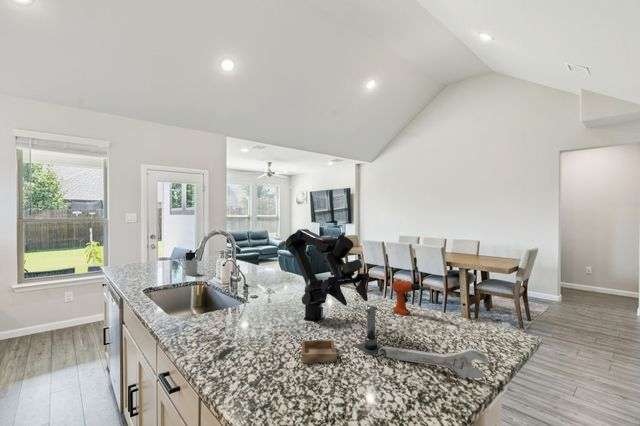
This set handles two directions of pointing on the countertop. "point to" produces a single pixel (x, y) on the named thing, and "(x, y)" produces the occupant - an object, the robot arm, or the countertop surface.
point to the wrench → (442, 359)
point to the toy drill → (404, 295)
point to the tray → (318, 351)
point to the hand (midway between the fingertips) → (356, 302)
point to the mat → (370, 352)
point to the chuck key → (371, 329)
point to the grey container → (190, 264)
